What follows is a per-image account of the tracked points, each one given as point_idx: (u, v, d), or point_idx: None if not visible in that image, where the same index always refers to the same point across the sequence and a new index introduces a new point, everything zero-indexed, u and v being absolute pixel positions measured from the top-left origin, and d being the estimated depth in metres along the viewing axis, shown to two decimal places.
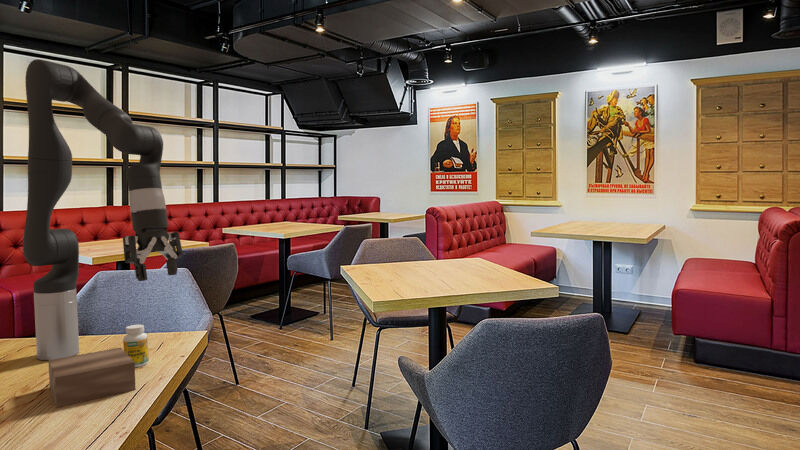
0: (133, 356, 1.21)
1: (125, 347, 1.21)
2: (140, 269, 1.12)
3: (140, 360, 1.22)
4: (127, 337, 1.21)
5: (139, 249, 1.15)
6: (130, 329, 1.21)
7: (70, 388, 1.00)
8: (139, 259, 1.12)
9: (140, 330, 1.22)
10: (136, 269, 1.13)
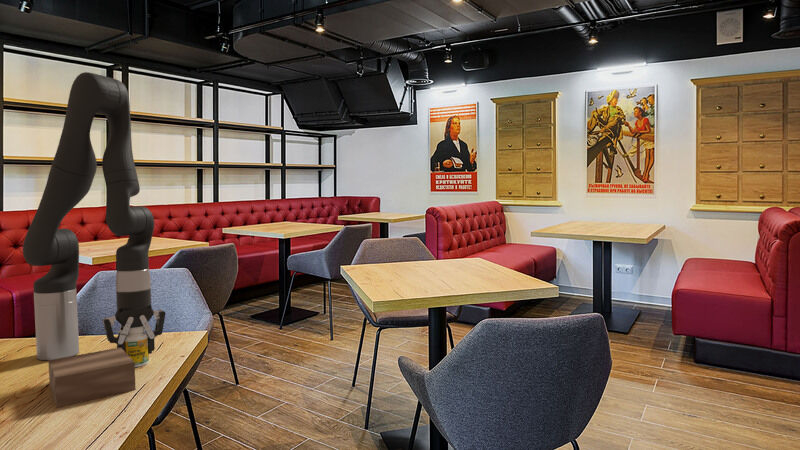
0: (133, 356, 1.21)
1: (125, 347, 1.21)
2: None
3: (140, 360, 1.22)
4: (127, 337, 1.21)
5: (123, 326, 1.23)
6: (130, 329, 1.21)
7: (70, 388, 1.00)
8: (118, 340, 1.20)
9: (140, 330, 1.22)
10: (117, 347, 1.21)
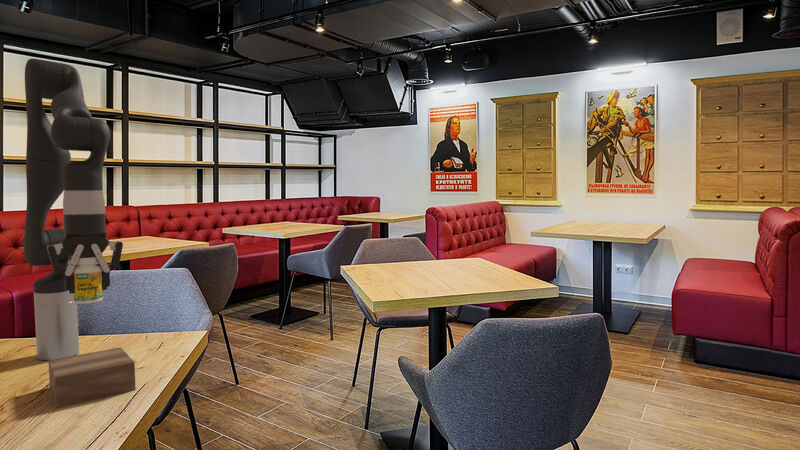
0: (83, 290, 1.05)
1: (74, 280, 1.05)
2: (66, 281, 1.04)
3: (92, 295, 1.05)
4: (76, 268, 1.05)
5: (72, 256, 1.06)
6: (80, 259, 1.05)
7: (70, 388, 1.00)
8: (65, 270, 1.04)
9: (92, 261, 1.06)
10: (65, 280, 1.05)
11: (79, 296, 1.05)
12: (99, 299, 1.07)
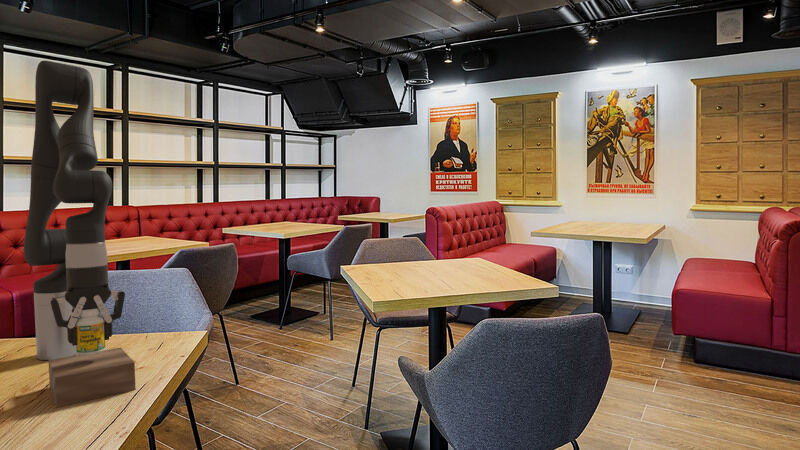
0: (85, 342, 1.05)
1: (77, 332, 1.05)
2: (69, 333, 1.05)
3: (94, 347, 1.06)
4: (79, 320, 1.05)
5: None
6: (82, 311, 1.05)
7: (70, 388, 1.00)
8: (68, 323, 1.04)
9: (94, 312, 1.06)
10: (67, 332, 1.05)
11: (82, 348, 1.05)
12: (101, 350, 1.07)
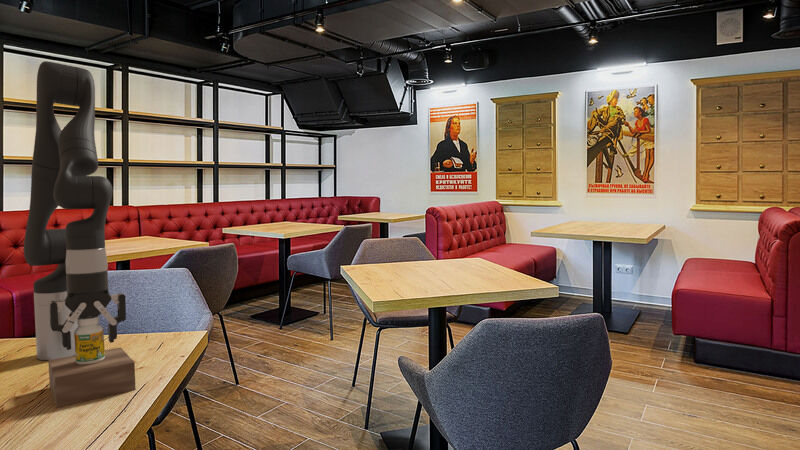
0: (85, 351, 1.05)
1: (76, 341, 1.05)
2: (64, 338, 1.04)
3: (94, 356, 1.06)
4: (78, 329, 1.05)
5: (72, 313, 1.06)
6: (82, 320, 1.05)
7: (70, 388, 1.00)
8: (63, 327, 1.04)
9: (94, 321, 1.06)
10: (62, 336, 1.05)
11: (81, 357, 1.05)
12: (101, 359, 1.07)
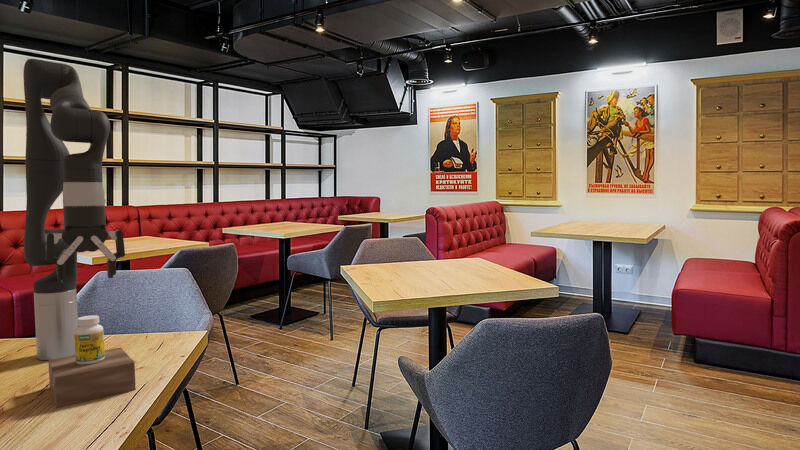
0: (85, 351, 1.05)
1: (76, 341, 1.05)
2: (59, 270, 1.03)
3: (94, 356, 1.06)
4: (78, 329, 1.05)
5: (69, 247, 1.06)
6: (82, 320, 1.05)
7: (70, 388, 1.00)
8: (58, 259, 1.03)
9: (94, 321, 1.06)
10: (57, 269, 1.04)
11: (81, 357, 1.05)
12: (101, 359, 1.07)
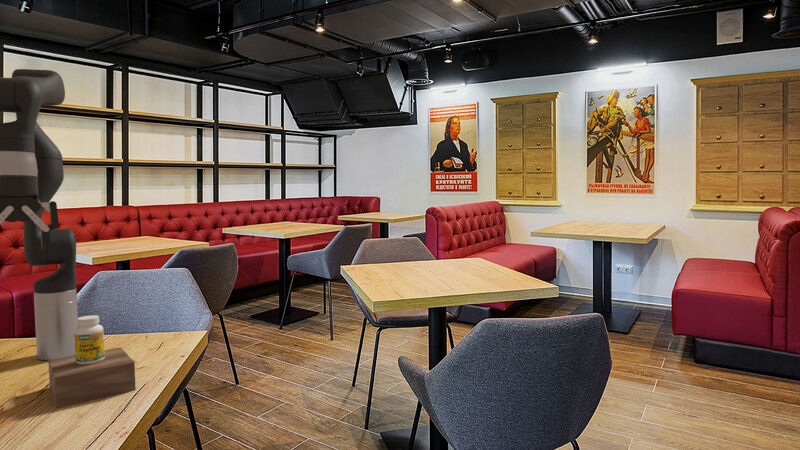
0: (85, 351, 1.05)
1: (76, 341, 1.05)
2: None
3: (94, 356, 1.06)
4: (78, 329, 1.05)
5: None
6: (82, 320, 1.05)
7: (70, 388, 1.00)
8: None
9: (94, 321, 1.06)
10: None
11: (81, 357, 1.05)
12: (101, 359, 1.07)
